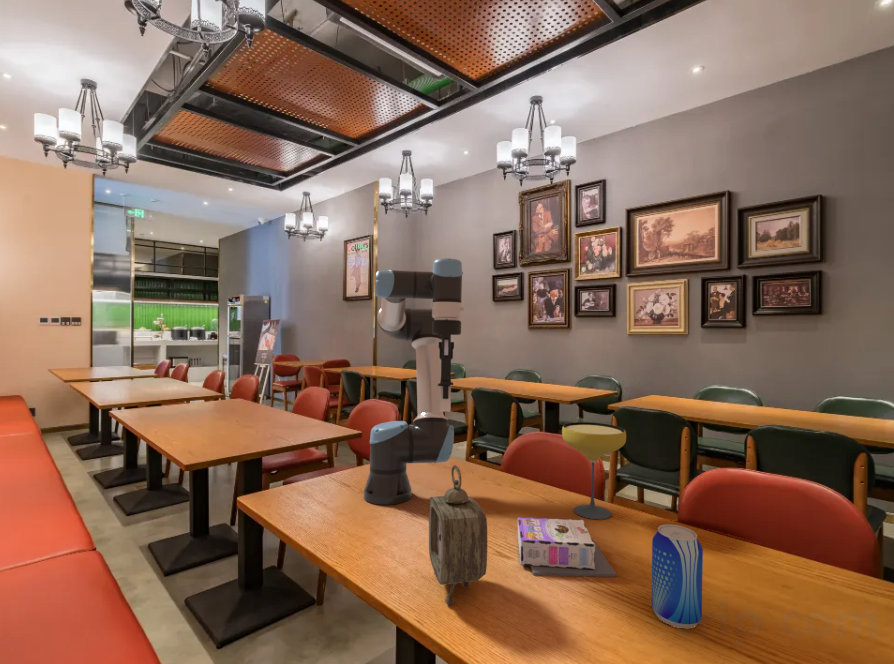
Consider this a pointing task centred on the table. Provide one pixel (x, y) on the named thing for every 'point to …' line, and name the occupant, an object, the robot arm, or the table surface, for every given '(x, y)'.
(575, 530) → the candy box
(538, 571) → the mat
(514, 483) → the table surface
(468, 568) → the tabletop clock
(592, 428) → the cocktail glass
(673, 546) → the beer can
